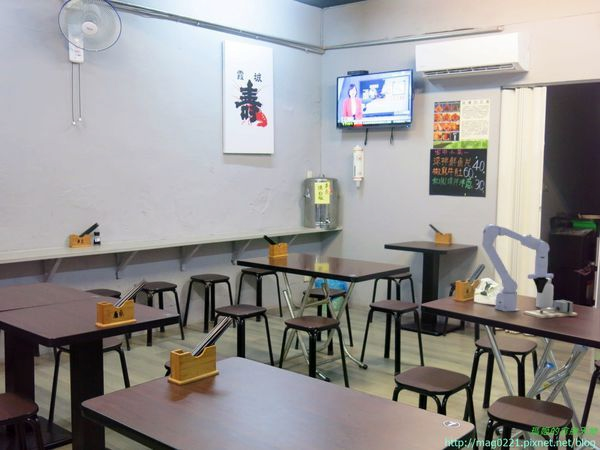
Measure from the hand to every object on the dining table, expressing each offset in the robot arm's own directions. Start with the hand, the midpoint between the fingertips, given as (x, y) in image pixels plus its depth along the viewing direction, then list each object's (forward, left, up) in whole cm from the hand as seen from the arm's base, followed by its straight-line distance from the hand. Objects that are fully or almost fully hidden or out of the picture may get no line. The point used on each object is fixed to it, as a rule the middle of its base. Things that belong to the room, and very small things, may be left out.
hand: (539, 292), depth 306 cm
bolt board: (0, -7, -9) cm, 12 cm away
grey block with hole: (+7, -7, -8) cm, 13 cm away
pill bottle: (+11, +8, -10) cm, 17 cm away
